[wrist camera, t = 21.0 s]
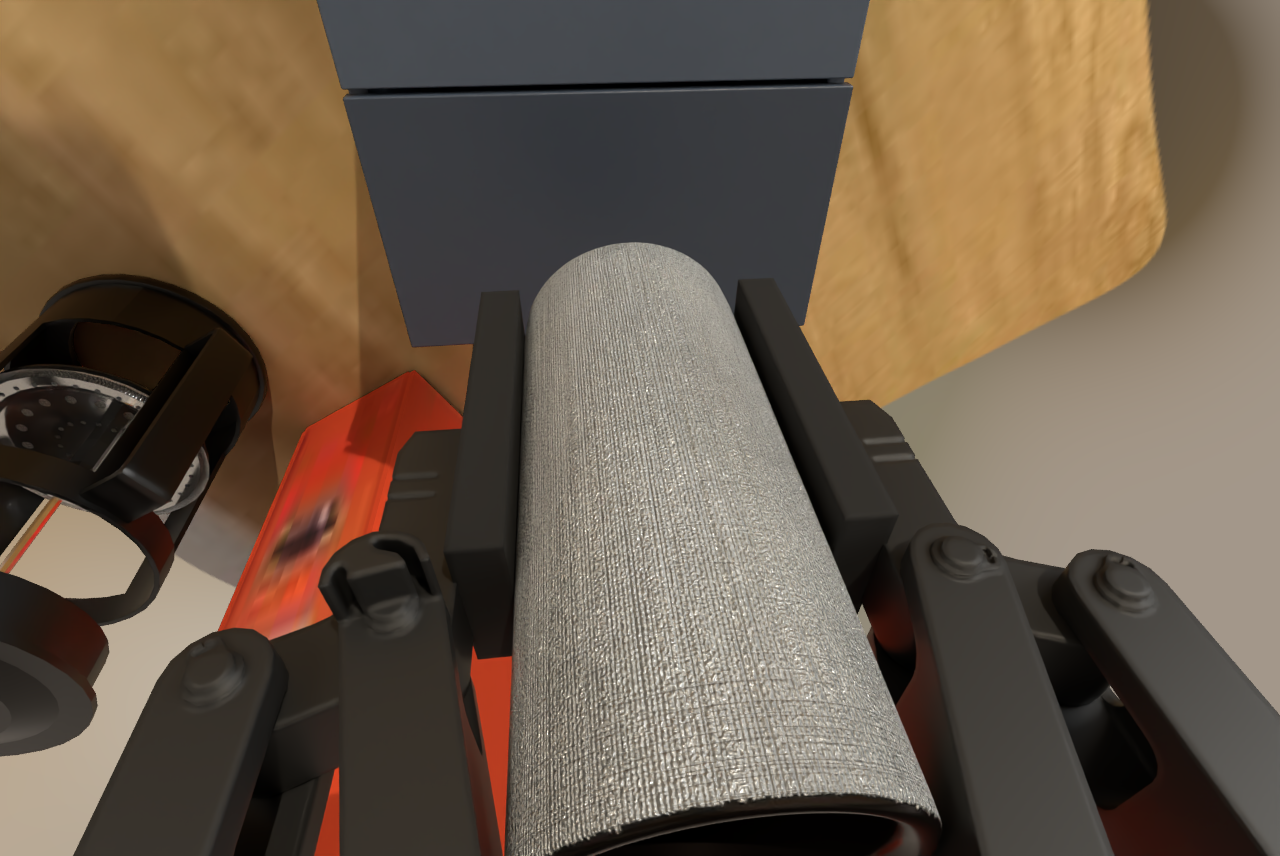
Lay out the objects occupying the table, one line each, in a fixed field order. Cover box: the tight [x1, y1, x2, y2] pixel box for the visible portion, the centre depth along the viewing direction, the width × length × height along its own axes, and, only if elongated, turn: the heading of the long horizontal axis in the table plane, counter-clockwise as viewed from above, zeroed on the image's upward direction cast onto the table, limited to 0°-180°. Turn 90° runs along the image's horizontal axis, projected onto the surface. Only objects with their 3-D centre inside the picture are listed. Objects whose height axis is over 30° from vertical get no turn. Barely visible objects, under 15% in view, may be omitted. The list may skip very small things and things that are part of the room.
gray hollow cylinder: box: [504, 242, 942, 856], centre depth 10 cm, size 4×4×10 cm
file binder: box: [218, 370, 512, 856], centre depth 28 cm, size 8×17×32 cm, turn 29°
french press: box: [0, 274, 268, 756], centre depth 23 cm, size 12×9×23 cm
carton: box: [343, 78, 853, 347], centre depth 20 cm, size 15×13×10 cm
